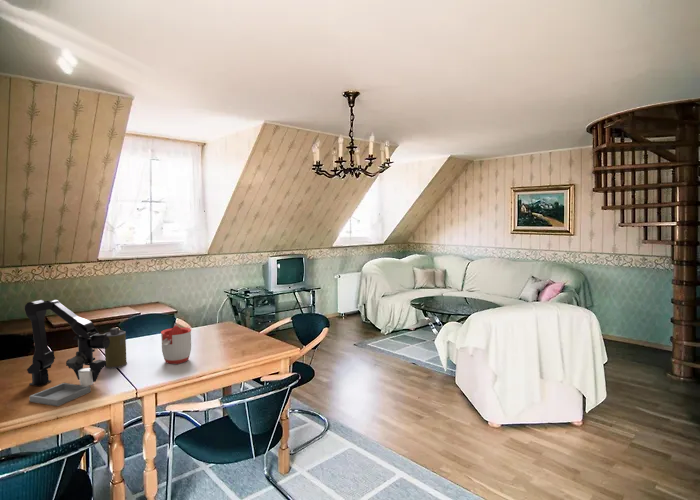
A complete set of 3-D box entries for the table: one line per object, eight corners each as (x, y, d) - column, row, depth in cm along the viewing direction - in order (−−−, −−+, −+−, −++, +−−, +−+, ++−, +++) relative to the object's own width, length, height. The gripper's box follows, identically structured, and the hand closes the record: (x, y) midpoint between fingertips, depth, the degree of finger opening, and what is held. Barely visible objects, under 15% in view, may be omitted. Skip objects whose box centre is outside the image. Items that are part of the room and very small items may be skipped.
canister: (120, 368, 230) (119, 330, 228) (100, 368, 230) (99, 330, 229) (131, 361, 241) (129, 325, 239) (112, 361, 241) (111, 325, 239)
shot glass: (98, 381, 211) (97, 367, 211) (90, 386, 205) (89, 372, 204) (83, 381, 211) (83, 367, 211) (75, 386, 204) (74, 372, 204)
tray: (29, 401, 188) (29, 395, 188) (64, 387, 203) (63, 382, 203) (57, 406, 183) (57, 400, 183) (90, 391, 198) (90, 386, 198)
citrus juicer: (152, 365, 235) (151, 328, 233) (174, 355, 251) (173, 321, 250) (177, 368, 230) (176, 330, 229) (198, 358, 247) (197, 323, 245)
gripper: (54, 351, 202) (56, 384, 203) (85, 355, 196) (87, 389, 197) (76, 345, 212) (77, 376, 213) (106, 348, 207) (107, 380, 208)
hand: (86, 380), depth 208 cm, fingers open, 9 cm apart
